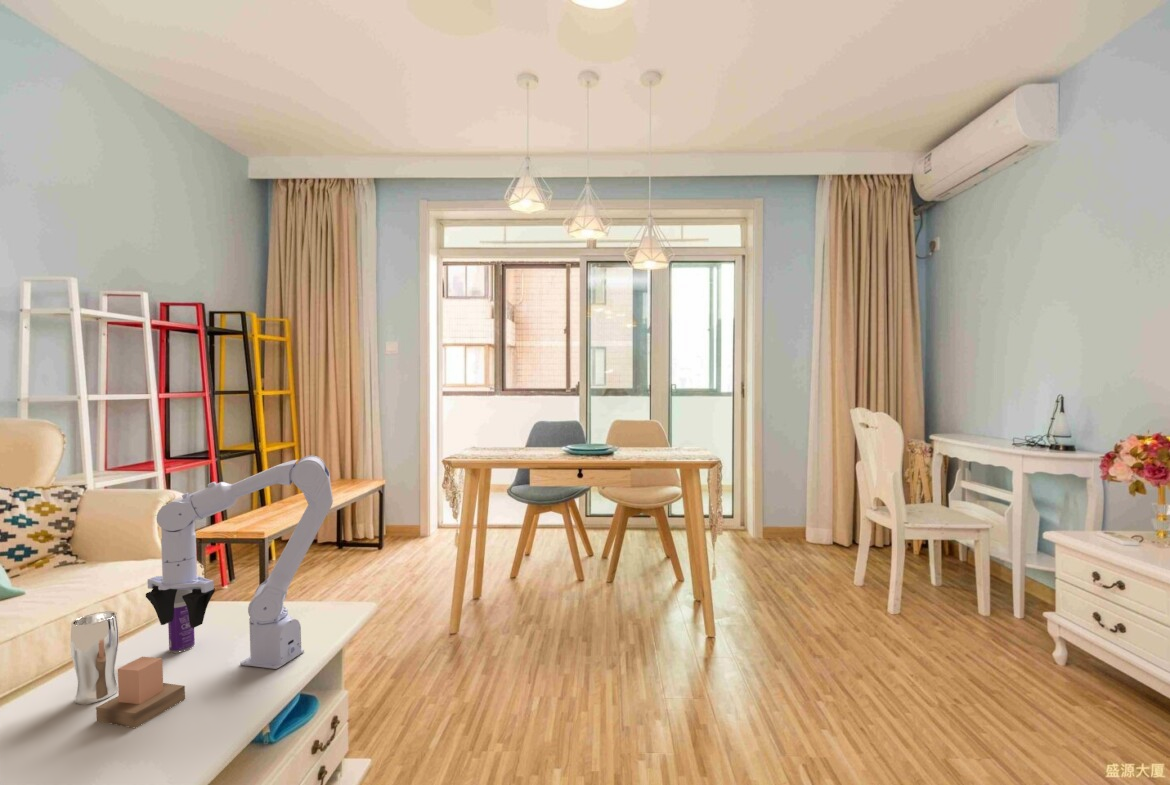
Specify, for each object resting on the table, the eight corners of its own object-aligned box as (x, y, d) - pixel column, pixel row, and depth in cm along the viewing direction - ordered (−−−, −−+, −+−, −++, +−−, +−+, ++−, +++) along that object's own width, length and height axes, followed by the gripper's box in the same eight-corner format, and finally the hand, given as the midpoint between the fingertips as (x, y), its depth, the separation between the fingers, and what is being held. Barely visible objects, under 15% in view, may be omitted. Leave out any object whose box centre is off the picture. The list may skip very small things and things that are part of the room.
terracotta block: (163, 690, 103) (162, 658, 103) (139, 704, 98) (138, 670, 98) (143, 688, 103) (142, 656, 103) (118, 702, 99) (117, 668, 99)
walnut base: (185, 701, 104) (184, 685, 104) (135, 730, 95) (134, 713, 95) (148, 696, 106) (147, 680, 106) (96, 724, 98) (96, 707, 98)
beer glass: (129, 689, 108) (126, 612, 108) (87, 709, 102) (84, 627, 101) (105, 683, 110) (103, 609, 110) (63, 702, 104) (60, 623, 104)
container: (184, 652, 123) (182, 585, 123) (163, 653, 123) (161, 586, 123) (199, 643, 127) (197, 578, 127) (179, 643, 128) (177, 578, 127)
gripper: (131, 562, 111) (133, 630, 111) (190, 566, 107) (192, 635, 108) (165, 552, 118) (167, 615, 118) (221, 555, 114) (223, 620, 114)
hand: (181, 624), depth 113 cm, fingers open, 7 cm apart
